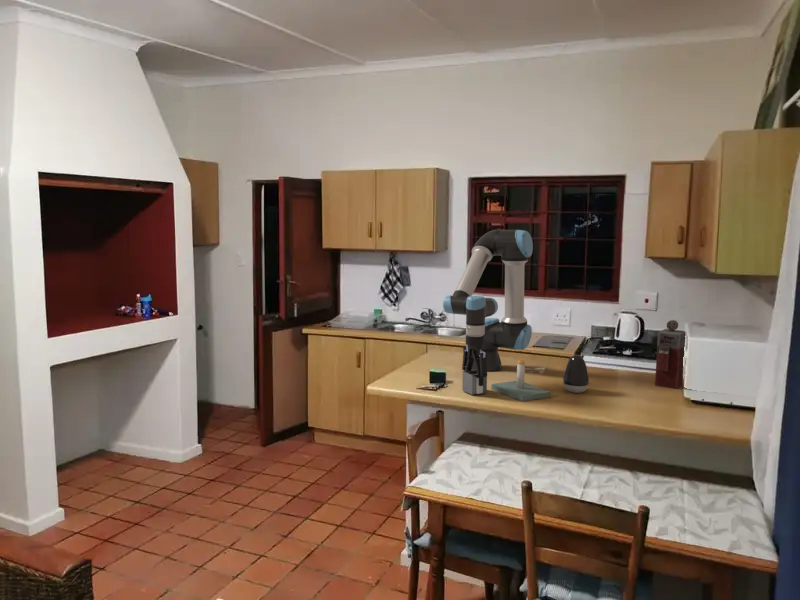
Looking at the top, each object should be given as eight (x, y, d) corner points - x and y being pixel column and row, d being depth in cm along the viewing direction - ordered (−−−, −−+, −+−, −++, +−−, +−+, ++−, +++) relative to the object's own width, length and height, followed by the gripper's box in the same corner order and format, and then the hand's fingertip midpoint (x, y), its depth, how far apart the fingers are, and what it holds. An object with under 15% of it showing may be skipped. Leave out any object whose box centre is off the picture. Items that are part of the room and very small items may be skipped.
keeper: (491, 388, 266) (492, 356, 264) (518, 384, 272) (519, 353, 271) (521, 401, 248) (522, 367, 247) (550, 396, 255) (551, 363, 253)
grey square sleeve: (462, 390, 261) (462, 371, 260) (476, 388, 265) (477, 369, 263) (471, 394, 255) (472, 375, 254) (486, 392, 258) (486, 373, 257)
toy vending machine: (653, 386, 272) (657, 321, 268) (660, 381, 281) (664, 317, 277) (675, 390, 266) (679, 323, 263) (682, 384, 275) (686, 320, 272)
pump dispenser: (593, 391, 264) (594, 354, 262) (580, 396, 256) (582, 358, 254) (570, 386, 270) (572, 351, 269) (557, 391, 263) (559, 354, 261)
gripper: (453, 331, 264) (453, 386, 267) (481, 340, 246) (480, 398, 249) (469, 330, 267) (468, 383, 270) (497, 338, 250) (496, 396, 253)
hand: (474, 390), depth 260 cm, fingers closed on grey square sleeve, 7 cm apart
